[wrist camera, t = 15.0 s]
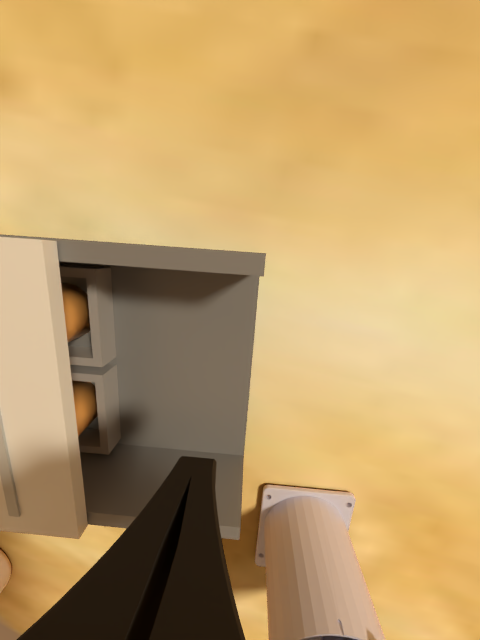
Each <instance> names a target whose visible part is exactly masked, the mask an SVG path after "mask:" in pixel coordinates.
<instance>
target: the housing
mask: <svg viewBox="0 0 480 640" xmlns="http://www.w3.org/2000/svg"><path fill="white" fill-rule="evenodd" d="M0 237H11V238H25V239H39V240H52V241H56V242H57V251H58V260H59V269H60V278H61V287H62V296H63V305H64V314H65V323H66V332H67V341H68V350H69V359H70V368H71V377H72V380H73V381H84V382H91V383H92V384H93V385H95V389H96V400H97V412H98V416H97V417H96V418H95V419H94V421H93V422H92V423H91V424H90V425H89V426H88V427H87V428H86V429H85V430H84V431H83V432H82V433H81V434H80V435H79V436H78V441H79V450H80V459H81V468H82V477H83V486H84V495H85V504H86V513H87V522H88V524H91V525H100V526H110V527H119V528H128V527H129V526H130V524H131V523H132V522H133V521H134V520H135V518H136V517H137V516H138V515H139V514H140V512H141V511H142V510H143V509H144V507H145V506H146V505H147V503H148V502H149V501H150V499H151V498H152V497H153V495H154V494H155V493H156V492H157V490H158V489H159V488H160V486H161V485H162V483H163V482H164V481H165V479H166V478H167V476H168V475H169V473H170V472H171V470H172V469H173V467H174V466H175V464H176V463H177V461H178V459H179V458H180V457H181V456H189V457H200V458H210V459H215V460H216V462H217V465H216V483H215V491H216V503H217V512H218V520H219V527H220V533H221V538H225V539H235V540H239V539H240V528H241V504H242V481H243V458H244V445H245V434H246V422H247V411H248V400H249V388H250V377H251V365H252V354H253V343H254V331H255V320H256V309H257V297H258V286H259V276H264V267H265V256H266V253H252V252H238V251H224V250H210V249H196V248H182V247H168V246H154V245H140V244H126V243H112V242H98V241H83V240H69V239H55V238H41V237H27V236H13V235H0Z"/></svg>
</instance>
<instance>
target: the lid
mask: <svg viewBox="0 0 480 640" xmlns="http://www.w3.org/2000/svg"><path fill="white" fill-rule="evenodd" d="M87 525H88V522H87V513H86V504H85V495H84V486H83V477H82V468H81V459H80V450H79V441H78V431H77V422H76V413H75V404H74V395H73V386H72V377H71V368H70V359H69V350H68V341H67V332H66V323H65V314H64V305H63V296H62V287H61V278H60V269H59V260H58V251H57V242H56V241H52V240H39V239H25V238H11V237H0V531H8V532H18V533H27V534H37V535H46V536H55V537H65V538H74V539H79V538H80V537H81V535H82V533H83V532H84V530H85V529H86V527H87Z"/></svg>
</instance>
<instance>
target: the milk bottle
mask: <svg viewBox="0 0 480 640" xmlns="http://www.w3.org/2000/svg"><path fill="white" fill-rule="evenodd" d="M11 573H12V567H11V563H10V561H9V559H8V557H7V556H6V555H5V553H4V552H3V551H2V550H1V549H0V593H1V592H2V590H3V589H4V587H5V586H6V585H7V583H8V581H9V579H10V576H11Z"/></svg>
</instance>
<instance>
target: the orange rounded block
mask: <svg viewBox="0 0 480 640" xmlns="http://www.w3.org/2000/svg"><path fill="white" fill-rule="evenodd" d="M72 386H73V395H74V404H75V413H76V422H77V431H78V436H79V435H80V434H81V433H82V432H83V431H84V430H85V429H86V428H87V427H88V426H89V425H90V424H91V423H92V422H93V421H94V419H95V418H96V417H97V416H98V412H97V400H96V389H95V385H93V384H92V383H91V382H84V381H73V380H72Z"/></svg>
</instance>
